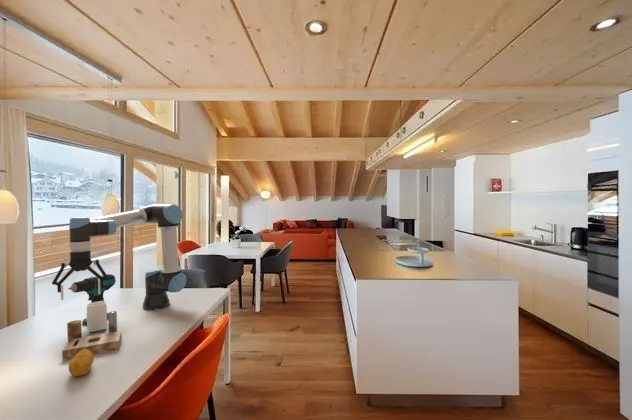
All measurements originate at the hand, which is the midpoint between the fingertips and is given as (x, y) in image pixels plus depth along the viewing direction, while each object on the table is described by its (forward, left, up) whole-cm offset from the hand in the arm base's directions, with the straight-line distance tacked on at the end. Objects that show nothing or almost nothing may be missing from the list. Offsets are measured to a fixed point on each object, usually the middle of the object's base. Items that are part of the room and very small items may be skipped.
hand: (81, 296), depth 142 cm
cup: (-4, -15, -23) cm, 28 cm away
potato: (-4, +29, -23) cm, 37 cm away
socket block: (-6, +8, -23) cm, 24 cm away
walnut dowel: (+3, -3, -23) cm, 23 cm away
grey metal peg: (-12, -3, -23) cm, 26 cm away
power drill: (0, -30, -23) cm, 38 cm away
